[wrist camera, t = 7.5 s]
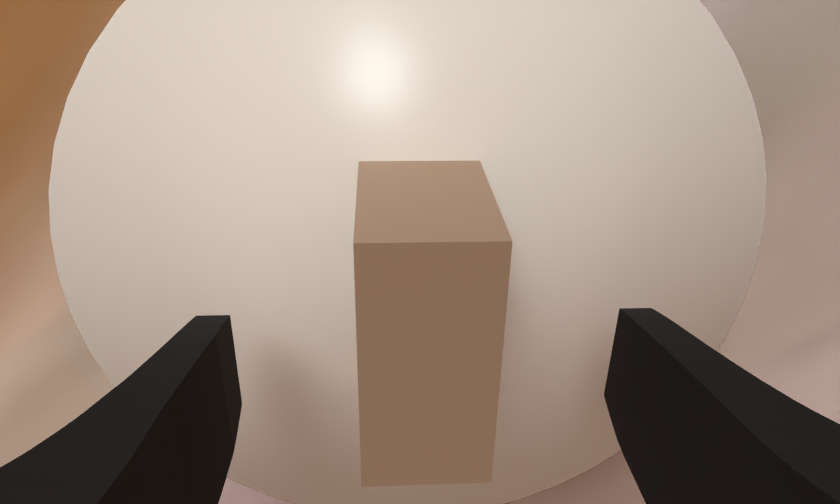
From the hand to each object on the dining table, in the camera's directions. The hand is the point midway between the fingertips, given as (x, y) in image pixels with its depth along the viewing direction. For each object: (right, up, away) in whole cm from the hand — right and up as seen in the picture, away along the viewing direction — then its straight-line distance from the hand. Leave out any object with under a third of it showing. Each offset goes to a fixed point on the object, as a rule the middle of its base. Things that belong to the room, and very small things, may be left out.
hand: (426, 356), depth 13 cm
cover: (0, +2, +2) cm, 3 cm away
